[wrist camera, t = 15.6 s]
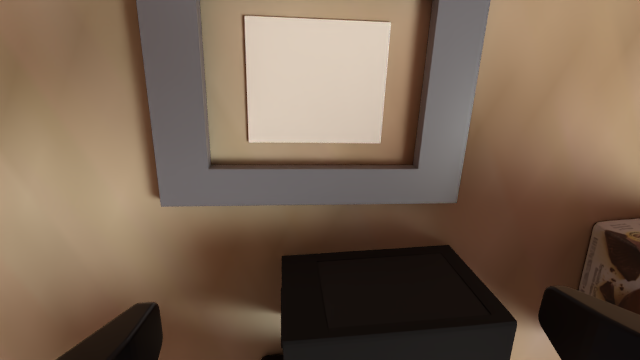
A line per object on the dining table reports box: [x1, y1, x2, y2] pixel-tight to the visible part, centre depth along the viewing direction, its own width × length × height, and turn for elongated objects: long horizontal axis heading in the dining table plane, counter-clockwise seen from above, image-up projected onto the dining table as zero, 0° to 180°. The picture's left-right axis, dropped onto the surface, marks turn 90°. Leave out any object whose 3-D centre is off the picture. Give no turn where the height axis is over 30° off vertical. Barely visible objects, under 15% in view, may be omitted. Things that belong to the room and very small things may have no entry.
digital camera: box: [281, 245, 517, 360], centre depth 19 cm, size 10×5×7 cm, turn 91°
